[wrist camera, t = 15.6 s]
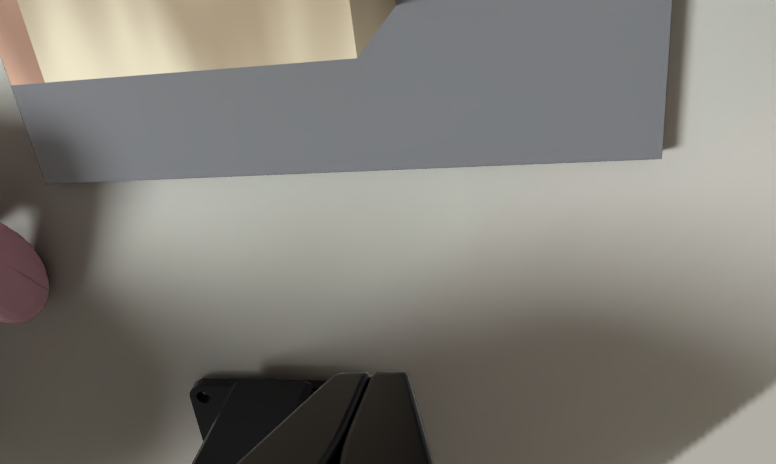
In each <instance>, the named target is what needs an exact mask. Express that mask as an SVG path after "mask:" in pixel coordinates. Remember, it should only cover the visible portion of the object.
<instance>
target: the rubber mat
mask: <svg viewBox="0 0 776 464" xmlns="http://www.w3.org/2000/svg"><path fill="white" fill-rule="evenodd" d="M395 2H396V6H395V8H394V9H393V10H392V12H391V13H390V14H389V16H388V17H387V18H386V20H385V21H384V22H383V24H382V25H381V27H380V28H379V29H378V31H377V32H376V33H375V35H374V36H373V37H372V39H371V40H370V42H369V43H368V44H367V46H366V47H365V48H364V50H363V51H362V52H361V54H360V55H359V56H358V58H354V59H341V60H328V61H315V62H303V63H290V64H277V65H264V66H252V67H239V68H226V69H213V70H201V71H188V72H175V73H162V74H150V75H137V76H124V77H111V78H98V79H86V80H73V81H60V82H47V83H35V84H22V85H11V84H10V85H11V88H12V90H13V93H14V96H15V99H16V102H17V105H18V107H19V110H20V113H21V116H22V119H23V122H24V124H25V127H26V130H27V133H28V136H29V139H30V141H31V144H32V147H33V150H34V153H35V155H36V158H37V161H38V164H39V167H40V170H41V172H42V175H43V178H44V181H45V184H61V183H85V182H110V181H134V180H159V179H183V178H208V177H232V176H257V175H281V174H306V173H330V172H355V171H379V170H404V169H428V168H453V167H477V166H502V165H526V164H551V163H575V162H600V161H624V160H649V159H662V148H663V133H664V118H665V102H666V87H667V71H668V56H669V40H670V25H671V10H672V0H395ZM0 57H1V56H0ZM2 62H3V61H2ZM3 65H4V64H3ZM4 68H5V67H4ZM5 71H6V70H5ZM6 74H7V72H6ZM7 76H8V75H7ZM8 79H9V78H8ZM9 82H10V81H9Z"/></svg>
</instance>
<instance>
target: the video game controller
mask: <svg viewBox="0 0 776 464" xmlns="http://www.w3.org/2000/svg"><path fill="white" fill-rule="evenodd" d="M48 295H49V280H48V276H47V273H46V269H45V267H44V265H43V263H42V261H41V259H40V257H39V256H38V254H37V253H36V252H35V250H34V249H33V247H32V246H31V245H30V243H28V242H27V241H26V240H25V239H24V238H23V237H22V236H20V235H19V234H18V233H16V232H15V231H13V230H12V229H10V228H8V227H7V226H5V225H4V224H2V223H0V321H2V322H6V323H10V324H12V323H23V322H27V321H29V320H31V319H32V318H33V317H35V316H36V315H37V314H38V313H39V312H40V311H41V310H42V308H43V307H44V305H45V302H46V300H47V297H48Z"/></svg>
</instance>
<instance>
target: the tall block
mask: <svg viewBox="0 0 776 464" xmlns="http://www.w3.org/2000/svg"><path fill="white" fill-rule="evenodd" d="M395 6H396V2H395V0H0V56H1V59H2V61H3V64H4V67H5V70H6V72H7V75H8V78H9V81H10V84H11V85H22V84H35V83H47V82H60V81H73V80H86V79H98V78H111V77H124V76H137V75H150V74H162V73H175V72H188V71H201V70H213V69H226V68H239V67H252V66H264V65H277V64H290V63H303V62H315V61H328V60H341V59H354V58H358V56H359V55H360V54H361V52H362V51H363V50H364V48H365V47H366V46H367V44H368V43H369V42H370V40H371V39H372V37H373V36H374V35H375V33H376V32H377V31H378V29H379V28H380V27H381V25H382V24H383V22H384V21H385V20H386V18H387V17H388V16H389V14H390V13H391V12H392V10H393V9H394V8H395Z"/></svg>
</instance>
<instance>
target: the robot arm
mask: <svg viewBox="0 0 776 464" xmlns="http://www.w3.org/2000/svg"><path fill="white" fill-rule="evenodd" d="M202 392H205V393H207V394H208V395H209V396H208V395H205V394H204V393H202ZM190 398H191V402H192V405H193V408H194V412H195V415H196V418H197V422H198V425H199V428H200V432H201V435H202V439H203V443H202V445H201V447H200V449H199V451H198V453H197V455H196V457H195V459H194V460H193V462H192V464H434V461H433V457H432V454H431V450H430V447H429V443H428V440H427V436H426V433H425V429H424V426H423V422H422V419H421V415H420V412H419V408H418V405H417V401H416V398H415V394H414V391H413V387H412V384H411V380H410V377H409V375H408V373H407V372H405V371H381V372H375V373H374V374H372V375H371V374H369V373H368V372H342V373H337V374H335V375H334V376H332V377H331V378H330V379H329V380H328V381H314V380H248V379H200V380H198V381H197V382H196V383H195V385H194V386H193V388H192V390H191V392H190Z"/></svg>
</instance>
